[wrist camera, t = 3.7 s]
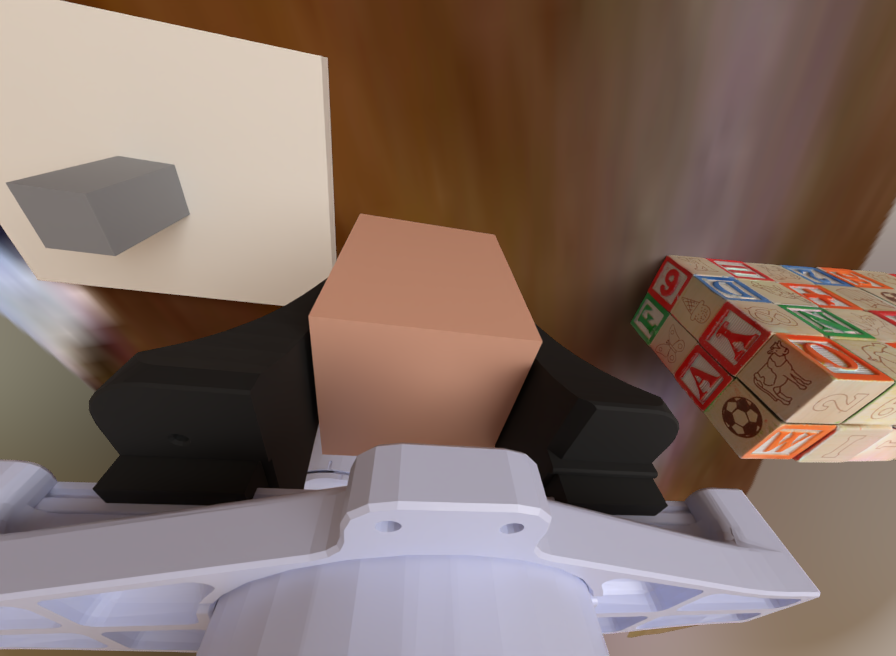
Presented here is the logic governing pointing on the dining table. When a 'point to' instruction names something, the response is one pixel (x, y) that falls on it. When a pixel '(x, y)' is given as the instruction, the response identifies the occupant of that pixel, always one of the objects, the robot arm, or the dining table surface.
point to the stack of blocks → (780, 354)
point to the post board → (163, 156)
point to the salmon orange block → (418, 339)
